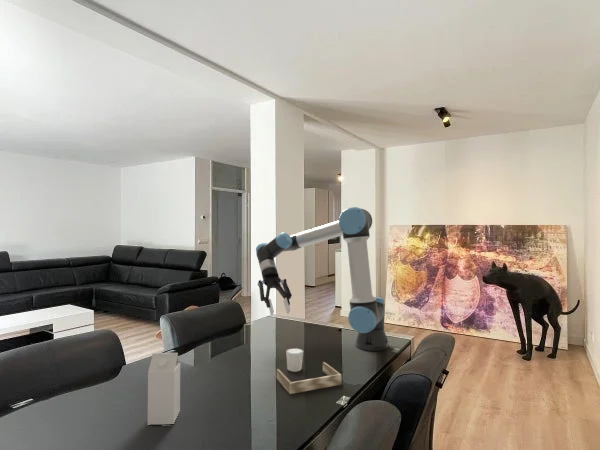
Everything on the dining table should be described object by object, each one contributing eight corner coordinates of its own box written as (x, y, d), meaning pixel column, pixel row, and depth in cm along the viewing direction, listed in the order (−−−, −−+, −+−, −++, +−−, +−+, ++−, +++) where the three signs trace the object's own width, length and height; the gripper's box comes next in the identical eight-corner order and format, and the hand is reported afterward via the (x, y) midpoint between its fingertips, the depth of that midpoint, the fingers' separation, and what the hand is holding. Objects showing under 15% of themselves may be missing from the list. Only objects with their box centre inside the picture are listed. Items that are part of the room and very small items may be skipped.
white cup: (301, 372, 139) (301, 354, 139) (284, 371, 140) (284, 353, 140) (304, 366, 146) (304, 348, 146) (288, 364, 147) (288, 347, 147)
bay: (324, 370, 141) (324, 361, 141) (341, 384, 128) (341, 374, 128) (276, 378, 133) (276, 369, 133) (289, 394, 121) (289, 383, 121)
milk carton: (155, 413, 108) (156, 349, 108) (180, 412, 108) (180, 348, 108) (147, 426, 101) (148, 357, 101) (173, 425, 101) (174, 357, 101)
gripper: (286, 275, 180) (299, 315, 164) (247, 276, 172) (256, 319, 157) (290, 265, 175) (303, 305, 160) (250, 266, 167) (260, 309, 152)
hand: (280, 312), depth 158 cm, fingers open, 7 cm apart
